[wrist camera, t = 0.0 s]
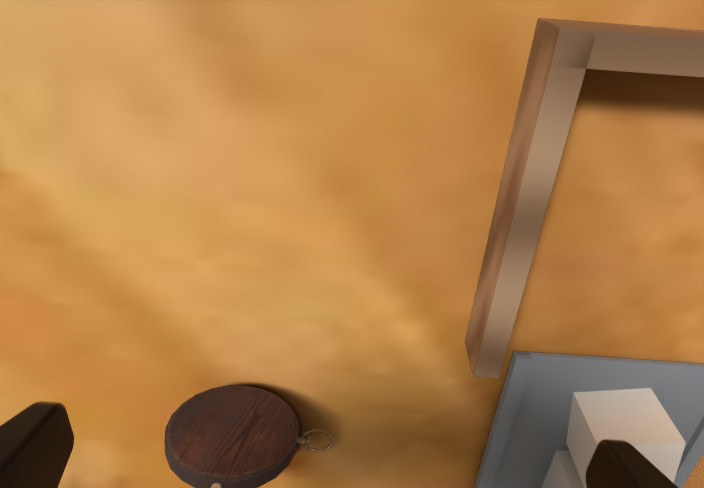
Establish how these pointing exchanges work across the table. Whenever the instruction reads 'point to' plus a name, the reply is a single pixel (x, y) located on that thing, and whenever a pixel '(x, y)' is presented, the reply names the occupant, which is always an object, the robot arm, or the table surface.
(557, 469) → the cream matte cube
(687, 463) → the rubber tray
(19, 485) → the robot arm
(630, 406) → the white square block
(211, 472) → the compass
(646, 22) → the table surface
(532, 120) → the walnut corral
